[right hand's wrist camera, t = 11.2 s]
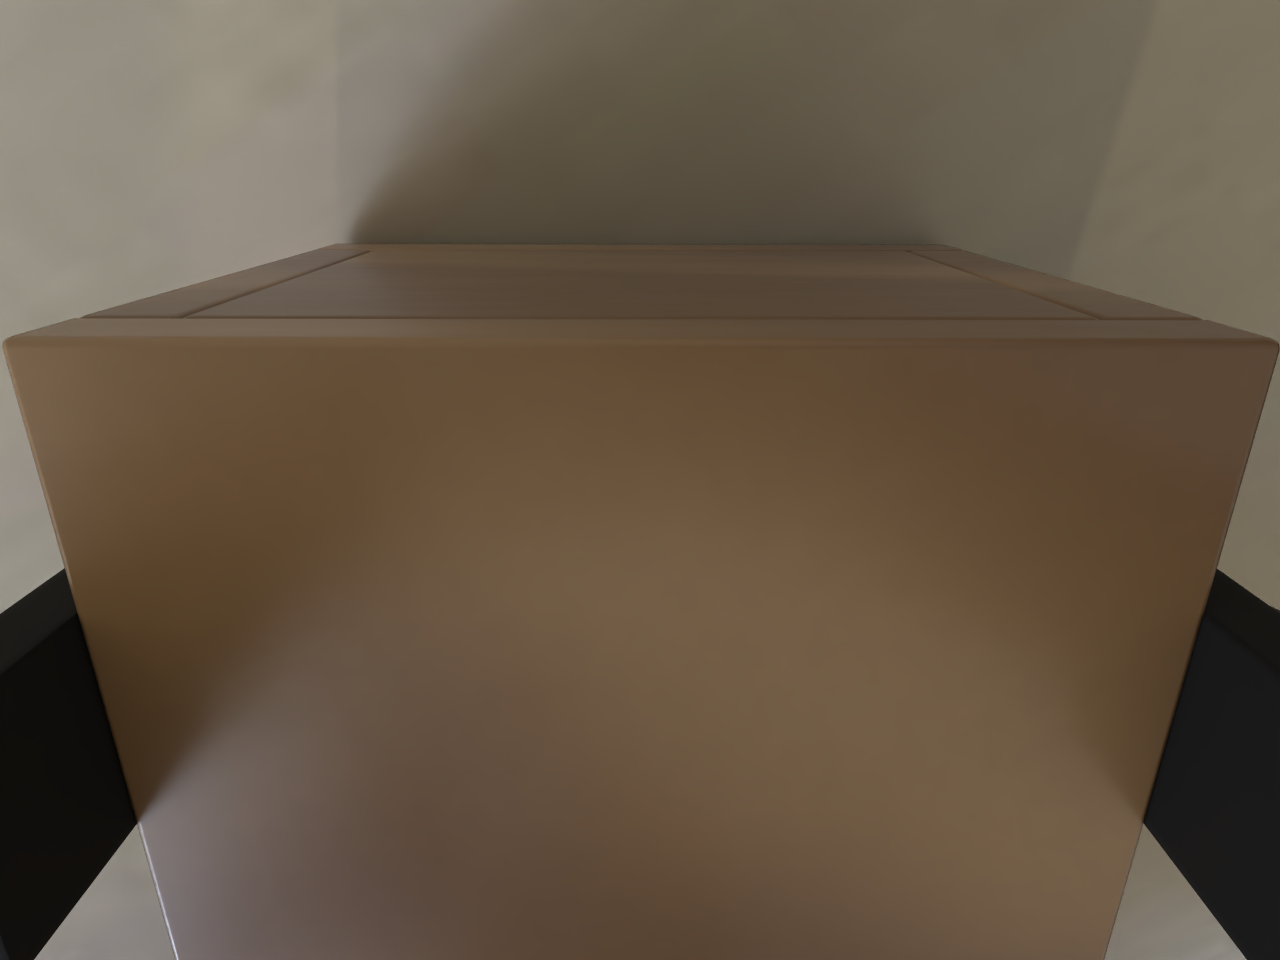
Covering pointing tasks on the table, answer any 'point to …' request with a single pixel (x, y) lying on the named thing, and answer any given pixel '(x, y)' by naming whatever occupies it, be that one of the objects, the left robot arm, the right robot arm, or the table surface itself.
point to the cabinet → (640, 594)
